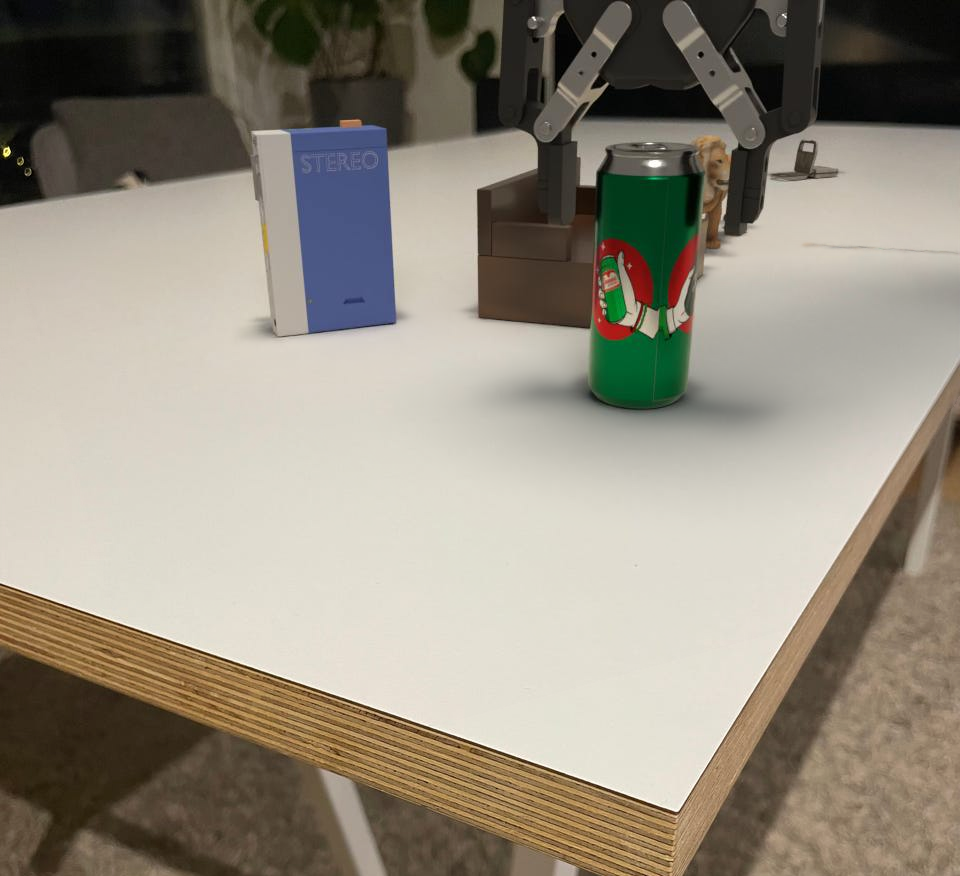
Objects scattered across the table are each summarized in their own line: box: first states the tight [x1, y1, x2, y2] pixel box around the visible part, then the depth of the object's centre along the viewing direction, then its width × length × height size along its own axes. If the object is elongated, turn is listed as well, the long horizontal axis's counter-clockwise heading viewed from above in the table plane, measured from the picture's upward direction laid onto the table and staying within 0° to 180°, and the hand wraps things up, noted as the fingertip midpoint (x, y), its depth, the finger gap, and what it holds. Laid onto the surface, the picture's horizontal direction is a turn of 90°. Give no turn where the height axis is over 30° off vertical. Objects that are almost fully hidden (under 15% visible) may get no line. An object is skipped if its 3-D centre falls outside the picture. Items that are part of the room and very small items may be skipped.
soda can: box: [587, 141, 706, 410], centre depth 51 cm, size 5×5×12 cm
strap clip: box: [769, 138, 839, 181], centre depth 124 cm, size 8×3×4 cm, turn 115°
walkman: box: [250, 119, 397, 338], centre depth 64 cm, size 8×3×12 cm, turn 112°
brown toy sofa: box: [476, 156, 708, 329], centre depth 72 cm, size 11×18×8 cm, turn 157°
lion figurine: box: [689, 134, 748, 249], centre depth 89 cm, size 15×5×9 cm, turn 159°
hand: (645, 228), depth 50 cm, fingers open, 8 cm apart
